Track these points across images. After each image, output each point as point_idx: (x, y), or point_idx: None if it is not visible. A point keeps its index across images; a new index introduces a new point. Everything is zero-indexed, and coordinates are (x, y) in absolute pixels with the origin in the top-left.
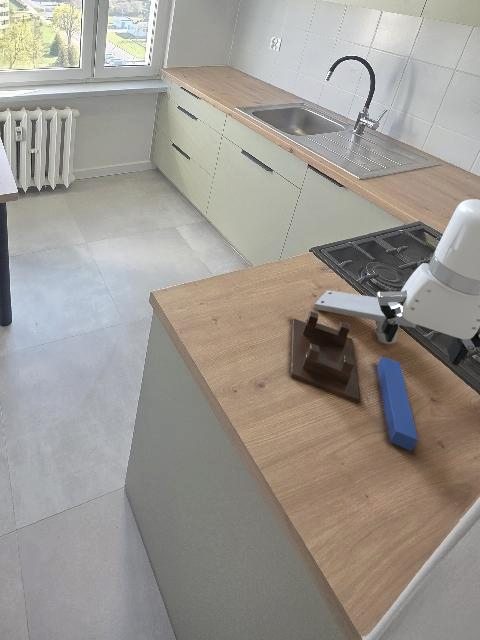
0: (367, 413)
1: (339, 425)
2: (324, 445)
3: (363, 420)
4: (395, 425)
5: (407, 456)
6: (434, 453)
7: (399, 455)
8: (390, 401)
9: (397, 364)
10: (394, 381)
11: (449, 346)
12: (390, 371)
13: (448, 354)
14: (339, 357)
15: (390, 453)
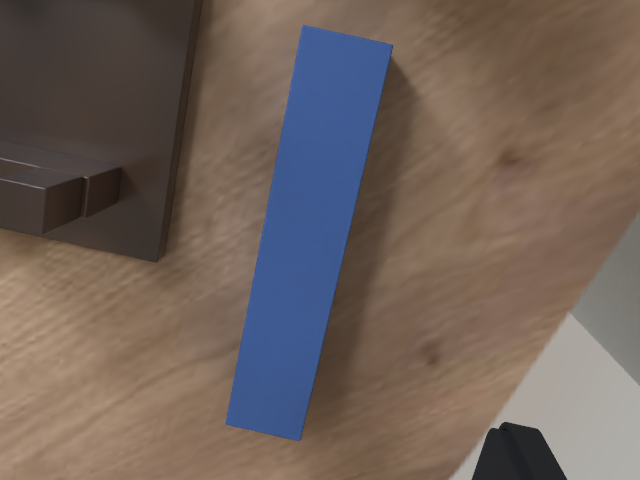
0: (190, 293)
1: (72, 363)
2: (10, 440)
3: (166, 325)
4: (231, 401)
5: None
6: (388, 391)
7: None
8: (250, 298)
9: (372, 62)
10: (310, 183)
11: (507, 464)
12: (313, 124)
13: (475, 469)
14: (113, 46)
15: None
